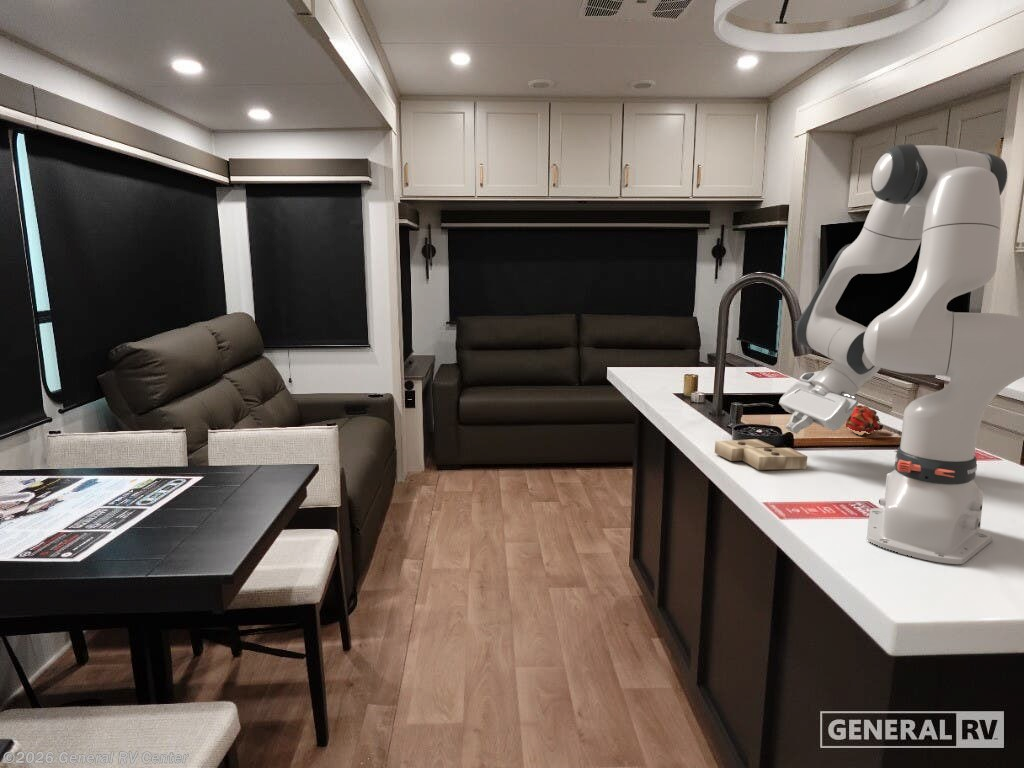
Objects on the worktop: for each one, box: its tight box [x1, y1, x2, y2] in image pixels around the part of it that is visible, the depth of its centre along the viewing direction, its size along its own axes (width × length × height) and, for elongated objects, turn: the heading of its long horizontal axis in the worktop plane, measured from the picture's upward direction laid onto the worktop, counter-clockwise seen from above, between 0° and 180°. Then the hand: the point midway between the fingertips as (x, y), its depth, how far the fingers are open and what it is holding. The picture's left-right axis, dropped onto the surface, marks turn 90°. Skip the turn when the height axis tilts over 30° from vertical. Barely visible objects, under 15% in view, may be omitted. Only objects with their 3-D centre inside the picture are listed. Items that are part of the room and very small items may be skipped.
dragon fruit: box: [845, 404, 884, 434], centre depth 178 cm, size 8×8×12 cm
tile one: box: [714, 438, 776, 462], centre depth 159 cm, size 4×7×12 cm
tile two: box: [742, 447, 808, 471], centre depth 152 cm, size 4×7×12 cm
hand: (790, 430), depth 152 cm, fingers closed
